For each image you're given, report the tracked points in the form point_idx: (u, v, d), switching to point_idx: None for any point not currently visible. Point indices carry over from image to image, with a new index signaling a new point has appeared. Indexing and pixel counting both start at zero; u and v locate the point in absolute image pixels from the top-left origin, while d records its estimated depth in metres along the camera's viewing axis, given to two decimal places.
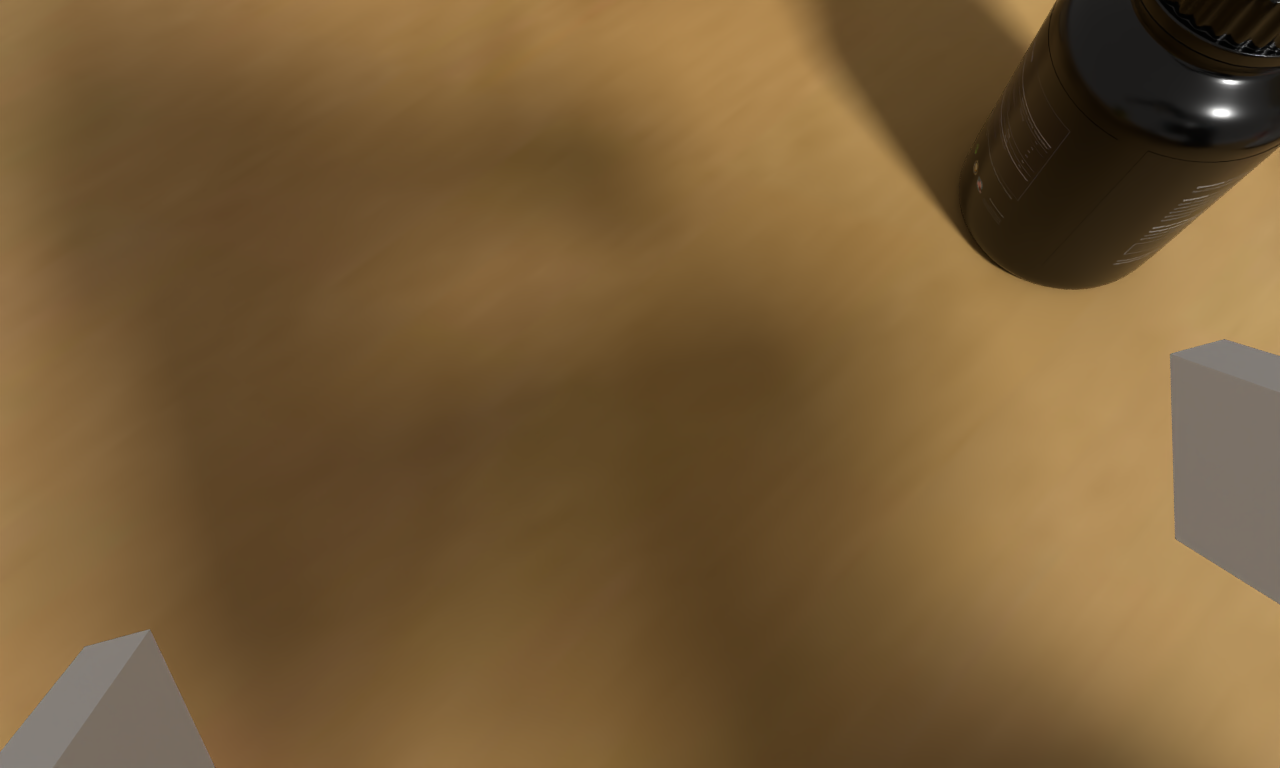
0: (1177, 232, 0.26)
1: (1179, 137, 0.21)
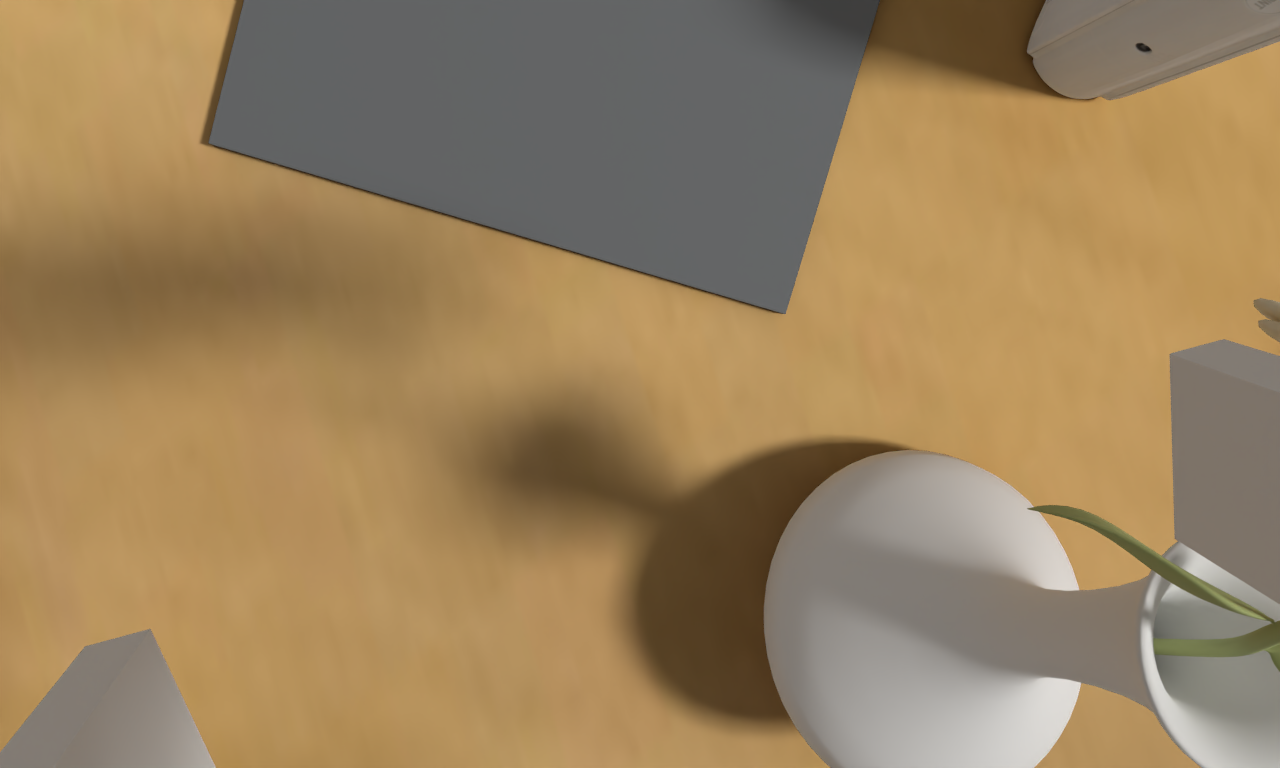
0: None
1: None
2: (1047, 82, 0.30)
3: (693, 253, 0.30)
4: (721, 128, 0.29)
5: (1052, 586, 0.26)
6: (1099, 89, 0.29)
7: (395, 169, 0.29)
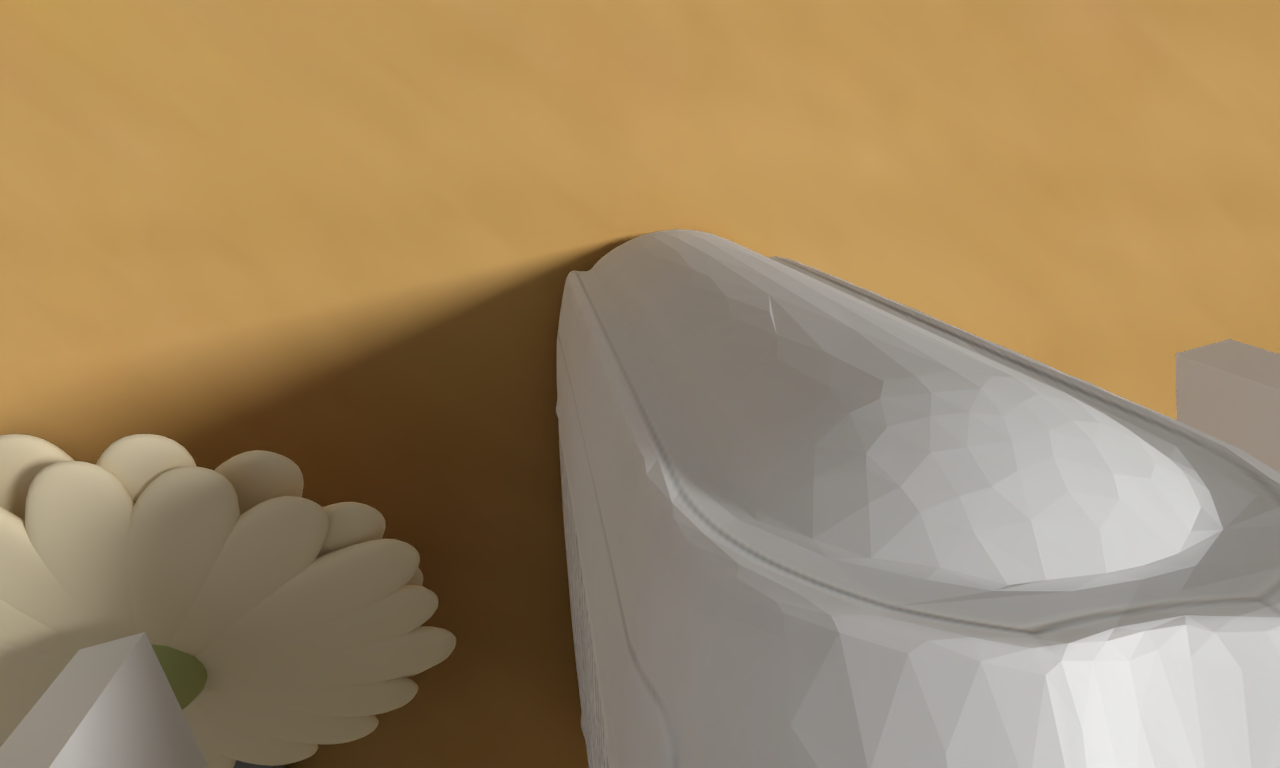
0: None
1: None
2: None
3: None
4: None
5: None
6: None
7: None
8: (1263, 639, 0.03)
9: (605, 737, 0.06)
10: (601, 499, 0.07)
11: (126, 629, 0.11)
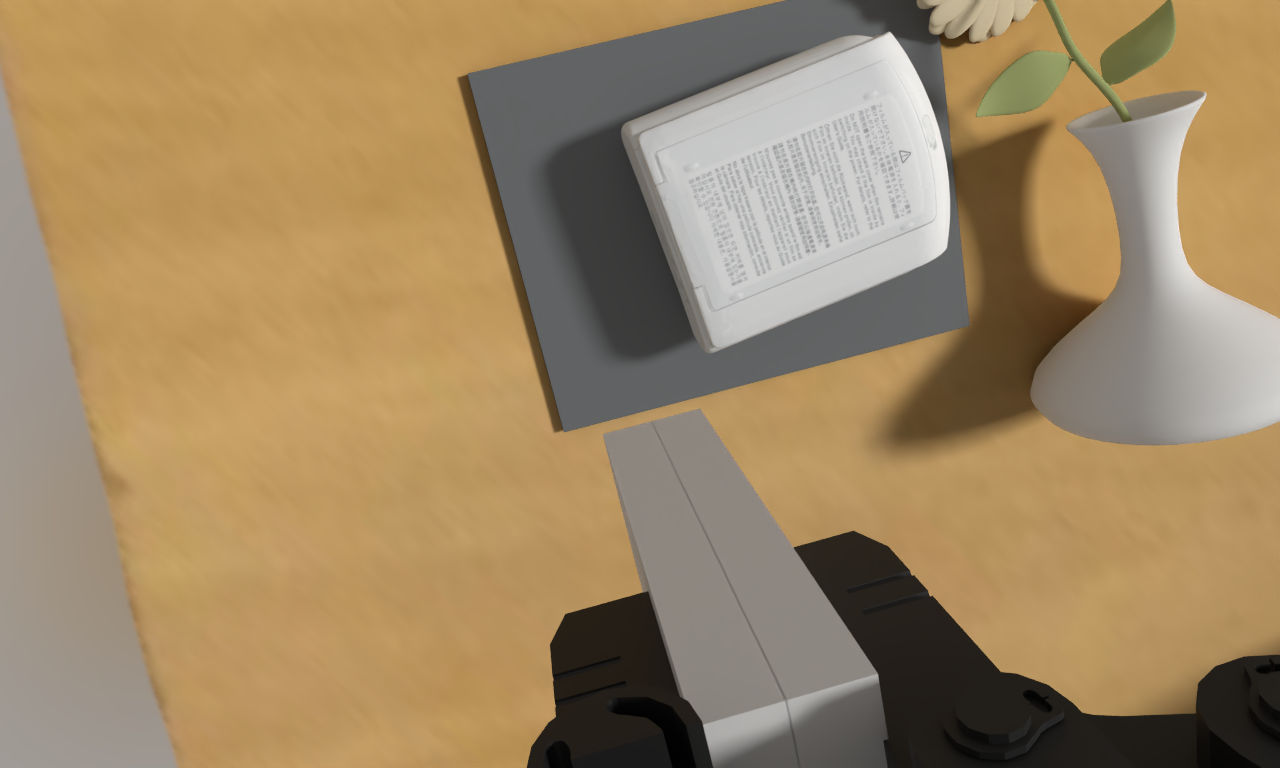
0: None
1: None
2: (713, 352, 0.37)
3: (894, 323, 0.41)
4: None
5: None
6: None
7: (684, 381, 0.40)
8: None
9: (857, 110, 0.34)
10: (825, 80, 0.33)
11: None
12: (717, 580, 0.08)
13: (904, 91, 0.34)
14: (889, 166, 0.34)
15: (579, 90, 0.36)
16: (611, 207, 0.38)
